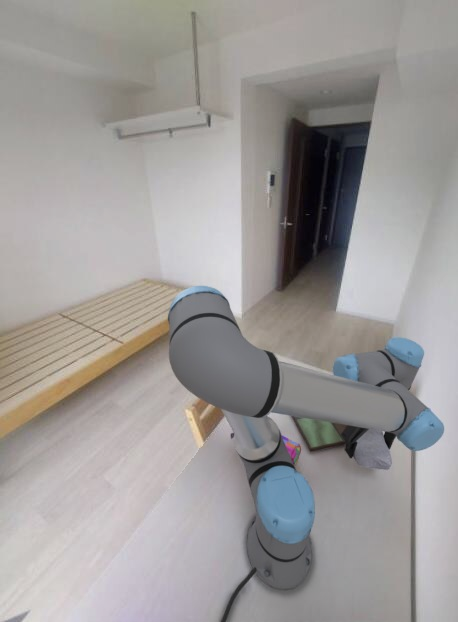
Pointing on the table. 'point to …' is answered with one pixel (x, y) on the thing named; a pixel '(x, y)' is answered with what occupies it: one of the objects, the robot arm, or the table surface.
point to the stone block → (373, 451)
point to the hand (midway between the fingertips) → (367, 449)
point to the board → (320, 433)
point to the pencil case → (289, 448)
